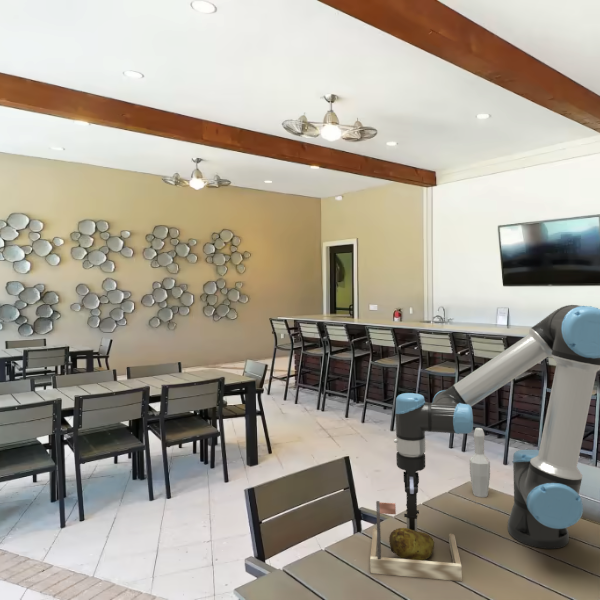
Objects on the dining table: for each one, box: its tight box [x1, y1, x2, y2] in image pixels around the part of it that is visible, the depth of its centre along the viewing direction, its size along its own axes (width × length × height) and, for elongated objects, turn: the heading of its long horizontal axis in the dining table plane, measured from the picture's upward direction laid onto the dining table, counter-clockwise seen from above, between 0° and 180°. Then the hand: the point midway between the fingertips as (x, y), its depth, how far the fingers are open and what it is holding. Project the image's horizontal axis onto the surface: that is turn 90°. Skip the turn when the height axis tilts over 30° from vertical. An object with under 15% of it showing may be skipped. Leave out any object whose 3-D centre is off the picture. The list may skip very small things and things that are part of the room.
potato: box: [388, 527, 435, 561], centre depth 122 cm, size 8×13×8 cm, turn 99°
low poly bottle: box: [469, 427, 491, 498], centre depth 159 cm, size 6×6×22 cm
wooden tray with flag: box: [369, 500, 463, 582], centre depth 122 cm, size 21×15×18 cm
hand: (412, 539), depth 128 cm, fingers closed
